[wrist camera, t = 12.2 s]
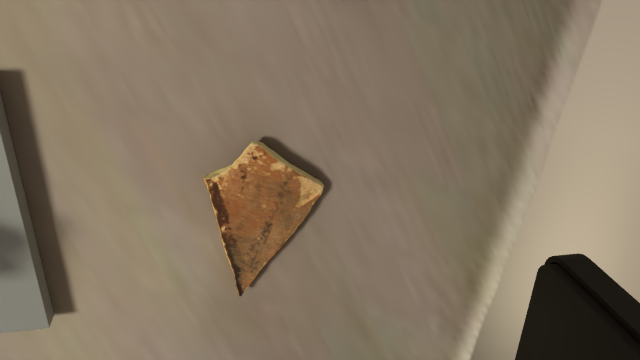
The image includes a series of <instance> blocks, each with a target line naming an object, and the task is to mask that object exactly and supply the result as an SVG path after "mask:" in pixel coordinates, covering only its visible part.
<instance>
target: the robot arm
mask: <svg viewBox="0 0 640 360" xmlns="http://www.w3.org/2000/svg"><path fill="white" fill-rule="evenodd" d="M515 360H640V303H639V302H638V301H637V300H635V299H634V298H633V297H632V296H631V295H630V294H629V293H627V292H626V291H625V290H624V289H623V288H622V287H620V286H619V285H618V284H617V283H616V282H615V281H614V280H613V279H612V278H610V277H609V276H608V275H607V274H606V273H605V272H604V271H603V270H602V269H600V268H599V267H598V266H597V265H596V264H595V263H594V262H592V261H591V260H590V259H589V258H588V257H586V256H585V255H583V254H570V255H559V256H552V257H549V258H548V259H547V260H546V262H545V265H542V266H541V267H540V268H539V269H538V272H537V276H536V280H535V283H534V288H533V291H532V296H531V299H530V303H529V307H528V311H527V315H526V319H525V323H524V327H523V330H522V334H521V338H520V342H519V346H518V350H517V354H516V358H515Z"/></svg>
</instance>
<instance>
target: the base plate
mask: <svg viewBox="0 0 640 360" xmlns="http://www.w3.org/2000/svg"><path fill="white" fill-rule="evenodd" d="M53 316H54V312H53V308H52V304H51V300H50V296H49V291H48V287H47V283H46V279H45V275H44V271H43V267H42V263H41V258H40V254H39V250H38V246H37V242H36V238H35V234H34V229H33V225H32V221H31V217H30V213H29V209H28V205H27V201H26V196H25V192H24V188H23V184H22V180H21V176H20V172H19V168H18V163H17V159H16V155H15V151H14V147H13V143H12V139H11V134H10V130H9V126H8V122H7V118H6V114H5V110H4V106H3V101H2V97H1V93H0V333H9V332H17V331H26V330H35V329H44V328H49V327H50V324H51V321H52V319H53Z"/></svg>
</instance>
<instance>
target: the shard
mask: <svg viewBox="0 0 640 360" xmlns="http://www.w3.org/2000/svg"><path fill="white" fill-rule="evenodd" d="M204 180H205V183H206V185H207V187H208V192H209V194H210V198H211V203H212V206H213V209H214V212H215V215H216V220H217V223H218V225H219V229H220V233H221V238H222V242H223V244H224V248H225V252H226V255H227V259H228V260H229V263H230V266H231V268H232V269H233V273H234V276H235V280H236V283H235V286H236V288H237V291H238V294H239V296H241V295H242V294H243V292H244V291H245V290H246V288H247V287H248V286H249V285H250V284H251V282H252V281H253V280H254V279H255V277H256V276H257V274H258V273H259V271H260V270H261V269H262V268H263V266H264V265H265V264H266V263H267V262H268V261H269V260H270V259H271V257H272V256H274V255H275V254H276V253H277V252H278V251H279V249H280V248H281V247H282V246H283V244H284V243H285V242H286V240H287V239H289V238H290V237H291V236H292V234H293V233H294V232H295V230H296V229H297V227H298V226H299V224H301V223H302V222H303V220H304V219H305V217H306V216H307V214H308V213H309V212H310V210H311V206H312V205H313V204H314V203H315V202H316V200H317V199H318V198H319V197H320V196H321V194H322V191H323V187H324V185H323V184H322V182H321V181H320V180H318V179H316V178H314V177H312V176H311V175H309V174H307V173H306V172H304V171H302V170H301V169H299V168H297V167H295V166H294V165H292V164H290V163H288V162H287V161H286V160H285V159H283V158H282V157H281V156H280V155H278V154H277V153H276V152H275V151H273V150H271V149H269V148H268V147H267V146H266V145H265V144H264V143H262V142H259V141H252V142H251V143H250V145H249V146H248V147H247V148H246V149H245V150H244V152H243V153H242V155H241V156H240V157H239V158H238V159H237V160H236V161H235V162H234V163H233V164H232V165H230V166H228V167H225V168H222V169H220V170H217V171H215V172H212V173H210V174H208V175H207V176H206V177H205V178H204Z"/></svg>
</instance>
